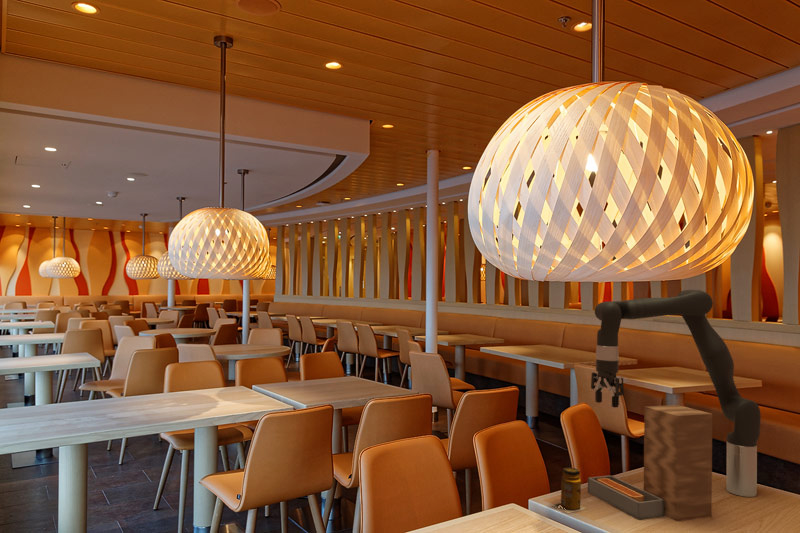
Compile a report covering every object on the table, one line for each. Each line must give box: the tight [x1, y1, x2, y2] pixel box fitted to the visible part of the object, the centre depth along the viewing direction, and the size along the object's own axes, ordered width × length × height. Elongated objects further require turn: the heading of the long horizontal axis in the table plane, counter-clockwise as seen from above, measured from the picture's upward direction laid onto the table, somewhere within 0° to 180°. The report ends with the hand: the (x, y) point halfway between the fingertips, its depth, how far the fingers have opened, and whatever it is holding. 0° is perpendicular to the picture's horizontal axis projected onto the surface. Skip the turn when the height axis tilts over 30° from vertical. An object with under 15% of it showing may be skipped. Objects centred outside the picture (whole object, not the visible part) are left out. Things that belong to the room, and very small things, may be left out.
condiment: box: [550, 467, 587, 514], centre depth 185 cm, size 7×8×12 cm
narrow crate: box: [596, 478, 644, 502], centre depth 192 cm, size 18×4×4 cm, turn 19°
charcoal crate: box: [587, 474, 665, 521], centre depth 190 cm, size 24×10×5 cm, turn 19°
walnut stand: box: [643, 404, 713, 522], centre depth 186 cm, size 14×14×32 cm
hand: (606, 404), depth 203 cm, fingers open, 8 cm apart
